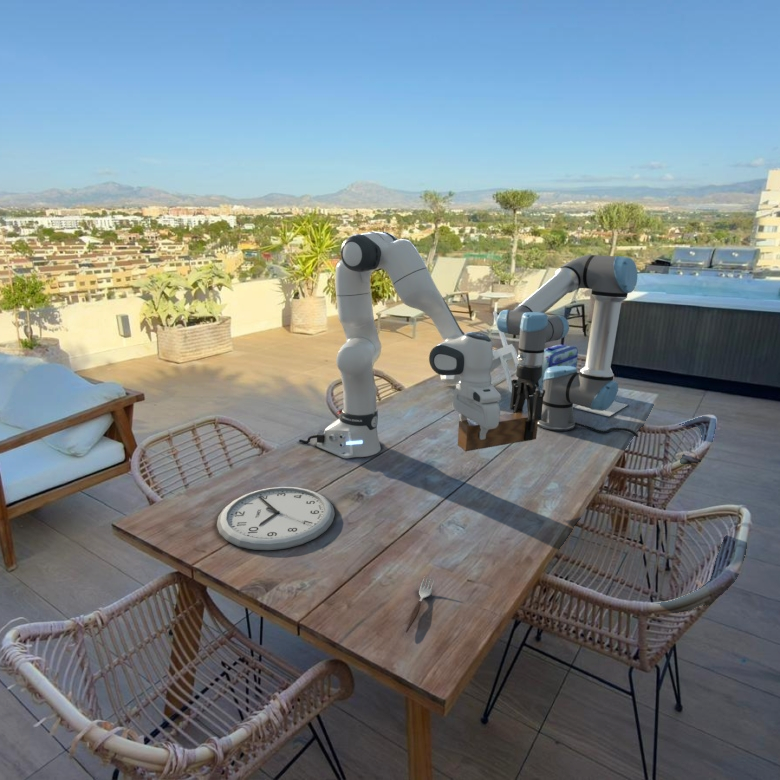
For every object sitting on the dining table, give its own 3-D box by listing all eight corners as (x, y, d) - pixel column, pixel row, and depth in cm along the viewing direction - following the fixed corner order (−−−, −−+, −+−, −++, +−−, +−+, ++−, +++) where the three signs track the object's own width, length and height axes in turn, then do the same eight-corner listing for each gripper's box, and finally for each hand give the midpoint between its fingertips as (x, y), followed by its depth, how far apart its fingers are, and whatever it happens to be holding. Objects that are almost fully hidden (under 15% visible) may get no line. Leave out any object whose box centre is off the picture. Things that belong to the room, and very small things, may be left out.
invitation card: (608, 416, 214) (573, 407, 224) (608, 416, 214) (573, 408, 224) (628, 404, 229) (594, 396, 238) (628, 405, 229) (594, 397, 238)
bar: (526, 433, 167) (528, 410, 165) (536, 439, 163) (538, 415, 161) (457, 445, 158) (458, 421, 155) (465, 451, 153) (467, 426, 151)
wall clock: (333, 542, 123) (202, 546, 121) (333, 547, 124) (203, 552, 121) (335, 482, 152) (229, 485, 149) (335, 487, 152) (230, 490, 150)
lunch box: (550, 397, 237) (555, 352, 231) (529, 391, 245) (533, 348, 238) (577, 386, 255) (582, 344, 249) (556, 381, 262) (561, 340, 256)
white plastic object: (461, 429, 252) (437, 405, 227) (444, 352, 274) (420, 323, 250) (535, 404, 240) (518, 377, 215) (510, 326, 262) (492, 293, 237)
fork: (399, 632, 98) (399, 624, 98) (423, 581, 112) (424, 573, 112) (412, 636, 97) (413, 627, 97) (435, 584, 112) (435, 576, 111)
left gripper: (448, 380, 159) (446, 423, 163) (485, 399, 141) (482, 447, 145) (466, 378, 162) (464, 420, 166) (504, 397, 144) (501, 443, 148)
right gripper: (502, 358, 163) (496, 428, 170) (538, 373, 148) (530, 449, 155) (521, 356, 166) (515, 425, 173) (559, 370, 150) (551, 445, 157)
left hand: (472, 433), depth 155 cm, fingers open, 8 cm apart
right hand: (522, 436), depth 164 cm, fingers closed on bar, 5 cm apart
